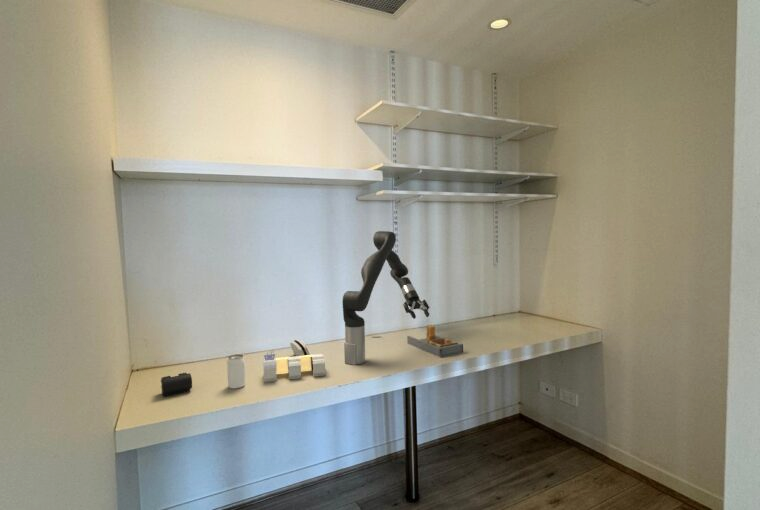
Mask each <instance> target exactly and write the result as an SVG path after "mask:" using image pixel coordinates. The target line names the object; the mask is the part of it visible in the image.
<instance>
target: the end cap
mask: <svg viewBox="0 0 760 510" xmlns="http://www.w3.org/2000/svg"><path fill="white" fill-rule="evenodd" d="M160 383H161V386H160V388H161V395H162V396H163V397H166V396H171V395H176V394H181V393H185V392H188V391H189V392H190V391H191V390H192V389H193V377H192V374H191V373H187V372H182V373H178V374H177V375H176V376H171V375H167V376H163V377H161V379H160Z"/></svg>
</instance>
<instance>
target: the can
mask: <svg viewBox="0 0 760 510" xmlns="http://www.w3.org/2000/svg"><path fill="white" fill-rule="evenodd" d="M227 358H228V359H227V361H226V362H227V363H226V365H227V367H226V368H227V386H228V388H229V389H231V390H233V389H234V390H238V389H241V388H243V387H245V385H246V367H245V358H244V355H243V354H232V355H229V356H228V357H227Z"/></svg>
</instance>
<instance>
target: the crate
mask: <svg viewBox="0 0 760 510" xmlns="http://www.w3.org/2000/svg"><path fill="white" fill-rule="evenodd" d="M435 335H436V326H435V325H427V326H426V338H427V343H429V344H431V345H434V346H436V347H439V348H440V347H445V346H451V345H456V344H458V341H454V340H451V339H448V338H446V337H442V338H441V339H435Z"/></svg>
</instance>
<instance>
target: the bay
mask: <svg viewBox="0 0 760 510" xmlns="http://www.w3.org/2000/svg"><path fill="white" fill-rule="evenodd" d="M441 338H443V336H442V337H441V336H438V335H436V334H435V339H441ZM406 340H407V341H406V342H407V344H408V345H411V346H413V347H415V348H418V349H420V350H422V351H425V352H427V353H429V354H430V355H431V354H432V355H433V356H436V357H438V358H445V357H449V356H455V355H460V354H464V343H458V342H457V343H458V344H456V345H451V346H445V347H440V348H439V347H436V346H434V345H431V344H429V343H427V337H426V338H420V339H419V338H416V337H413V336H410V335H406Z"/></svg>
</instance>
